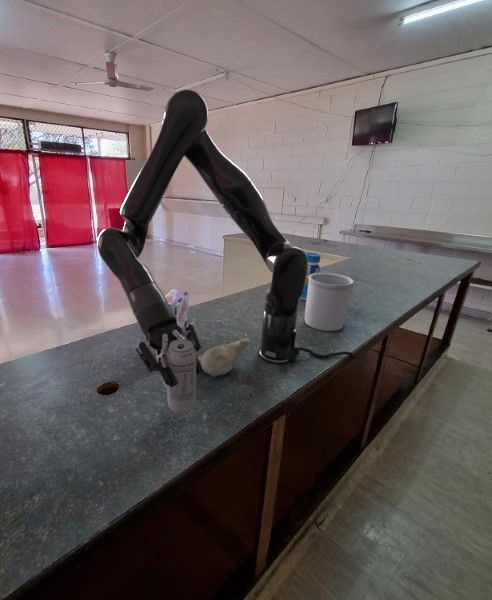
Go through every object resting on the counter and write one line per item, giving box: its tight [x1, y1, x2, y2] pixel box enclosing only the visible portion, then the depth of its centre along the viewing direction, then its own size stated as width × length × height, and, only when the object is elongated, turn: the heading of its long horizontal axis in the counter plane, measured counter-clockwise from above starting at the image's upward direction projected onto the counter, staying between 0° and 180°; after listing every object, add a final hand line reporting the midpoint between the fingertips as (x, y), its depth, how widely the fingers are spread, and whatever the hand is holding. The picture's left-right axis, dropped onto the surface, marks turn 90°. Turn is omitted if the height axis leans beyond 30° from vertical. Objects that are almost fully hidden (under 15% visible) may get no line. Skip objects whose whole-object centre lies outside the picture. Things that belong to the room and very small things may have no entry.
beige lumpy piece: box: [197, 337, 251, 378], centre depth 85 cm, size 15×7×15 cm
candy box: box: [164, 288, 189, 340], centre depth 95 cm, size 14×6×16 cm, turn 168°
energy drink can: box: [166, 339, 197, 415], centre depth 66 cm, size 6×6×15 cm
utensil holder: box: [304, 272, 354, 332], centre depth 114 cm, size 15×15×18 cm
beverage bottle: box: [299, 252, 321, 301], centre depth 140 cm, size 8×8×20 cm
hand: (186, 378), depth 64 cm, fingers closed on energy drink can, 6 cm apart
